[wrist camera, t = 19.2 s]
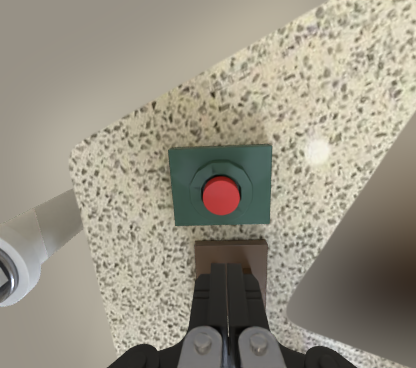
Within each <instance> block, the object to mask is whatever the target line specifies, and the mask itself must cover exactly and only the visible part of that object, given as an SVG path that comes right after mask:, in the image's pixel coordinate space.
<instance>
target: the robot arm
mask: <svg viewBox="0 0 416 368" xmlns="http://www.w3.org/2000/svg"><path fill="white" fill-rule="evenodd" d="M18 284H19V274H18V270H17V268H16V265H15V264H14V262H13V260H12V259H11V258H10V257H9V256H8V255H7V254H6V253H5V252H4V251H3V250H2V249H0V303H2V302H3V301H5V300H6V299H7V298H8V297H9V296H11V295H12V294H13V293H14V292H15V290H16V289H17V287H18ZM227 300H228V321H227ZM228 325H229V349H230V368H357V367H356V366H354V365H353V364H352V363H350V362H349V361H348V360H347V359H345V358H344V357H343V356H341V355H340V354H339V353H337V352H336V351H334V350H332V349H330V348H328V347H324V346H315V347H312V348H310V349H309V350H308V351H307V352H306V354H302V353H299V352H296V351H293V350H291V349H288V348H286V347H284V346H283V345H281V344H280V343H279V342H278V341H277V339H276V337H275V336H274V335H273V334H272V333H271V332H270V329H269V324H268V320H267V316H266V312H265V307H264V303H263V299H262V294H261V291H260V286H259V282H258V280H257V279H256V278H255V276H254V275H253V274H243V273H242V266H241V263H227V294H226V267H225V263H211V273H210V274H200V275H199V277H198V278H197V280H196V281H195V287H194V294H193V301H192V307H191V314H190V321H189V327H188V331H187V333H186V335H185V337H184V338H183V339H182V340H181V341H180V342H179V343H177V344H176V345H174V346H172V347H169V348H166V349H163V350H160V351H157V350H156V348H155V347H153V346H152V345H149V344H140V345H136V346H134V347H132V348H130V349H129V350H128V351H126V352H125V353H124V354H123V355H122V356H120V357H119V358H118V359H117V360H116V361H115V362H113V363H112V364H111V365H110V366H109V367H107V368H229V362H228Z"/></svg>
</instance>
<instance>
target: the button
mask: <svg viewBox="0 0 416 368" xmlns="http://www.w3.org/2000/svg"><path fill="white" fill-rule="evenodd" d="M239 200H240V195H239V191H238V188H237V185H236V184H235V182H234V181H233V180H232V179H230V178H228V177H225V176H218V177H214V178H212V179H211V180H209V181H208V182H207V184H206V186H205V188H204V193H203V202H204V205H205V207H206V208H207V209H208V210H209V211H210V212H212V213H214V214H216V215H226V214H229V213H231V212H233V211H234V210H235V209H236V208H237V206H238V204H239Z"/></svg>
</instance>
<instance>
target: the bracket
mask: <svg viewBox="0 0 416 368" xmlns="http://www.w3.org/2000/svg"><path fill="white" fill-rule="evenodd" d="M194 249H195V263H196V277H197V278H198V277H199V275H200V274H210V273H211V263H225V267H226V294H227V263H241V266H242V273H243V274H253V275H254V276H255V278H256V279H257V280H258V282H259V286H260V291H261V294H262V299H263V303H264V307H265V311H266V282H267V253H268V244H267V242H266V240H225V241H195V245H194ZM227 316H228V300H227Z"/></svg>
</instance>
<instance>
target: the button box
mask: <svg viewBox="0 0 416 368" xmlns="http://www.w3.org/2000/svg"><path fill="white" fill-rule="evenodd" d="M168 155H169V165H170V175H171V186H172V196H173V206H174V217H175V226H194V225H239V224H269V223H270V197H271V169H272V145H270V144H252V145H228V146H203V147H178V148H170V149H169V150H168ZM218 176H225V177H228V178H230V179H232V180H233V181H234V182H235V184H236V185H237V188H238V191H239V195H240V200H239V204H238V206H237V208H236V209H235V210H234V211H233V212H231V213H229V214H226V215H216V214H214V213H212V212H210V211H209V210H208V209H207V208H206V207H205V205H204V202H203V193H204V188H205V186H206V184H207V182H208V181H209V180H211V179H212V178H214V177H218Z"/></svg>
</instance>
